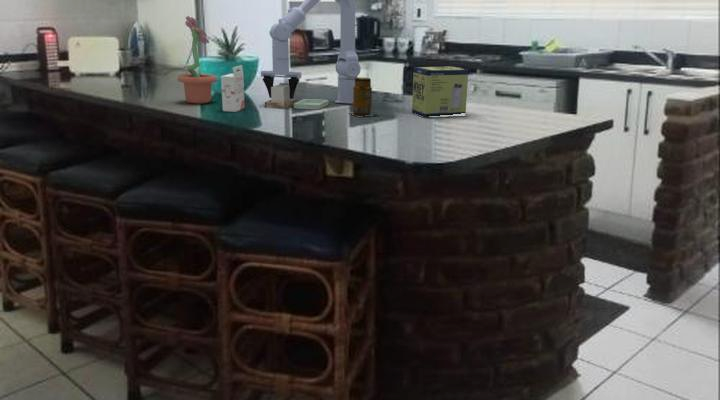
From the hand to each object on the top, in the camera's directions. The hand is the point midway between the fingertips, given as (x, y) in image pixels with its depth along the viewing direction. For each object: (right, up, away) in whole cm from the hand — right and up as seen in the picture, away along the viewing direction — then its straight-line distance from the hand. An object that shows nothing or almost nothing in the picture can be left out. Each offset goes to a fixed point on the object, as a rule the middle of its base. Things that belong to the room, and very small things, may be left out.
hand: (281, 98), depth 225 cm
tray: (+11, -3, 0) cm, 11 cm away
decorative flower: (-30, -1, +4) cm, 30 cm away
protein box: (+54, -8, -12) cm, 56 cm away
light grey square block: (0, -3, +1) cm, 3 cm away
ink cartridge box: (-15, -6, -9) cm, 19 cm away
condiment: (+29, -8, -15) cm, 33 cm away
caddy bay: (0, -2, +1) cm, 3 cm away
